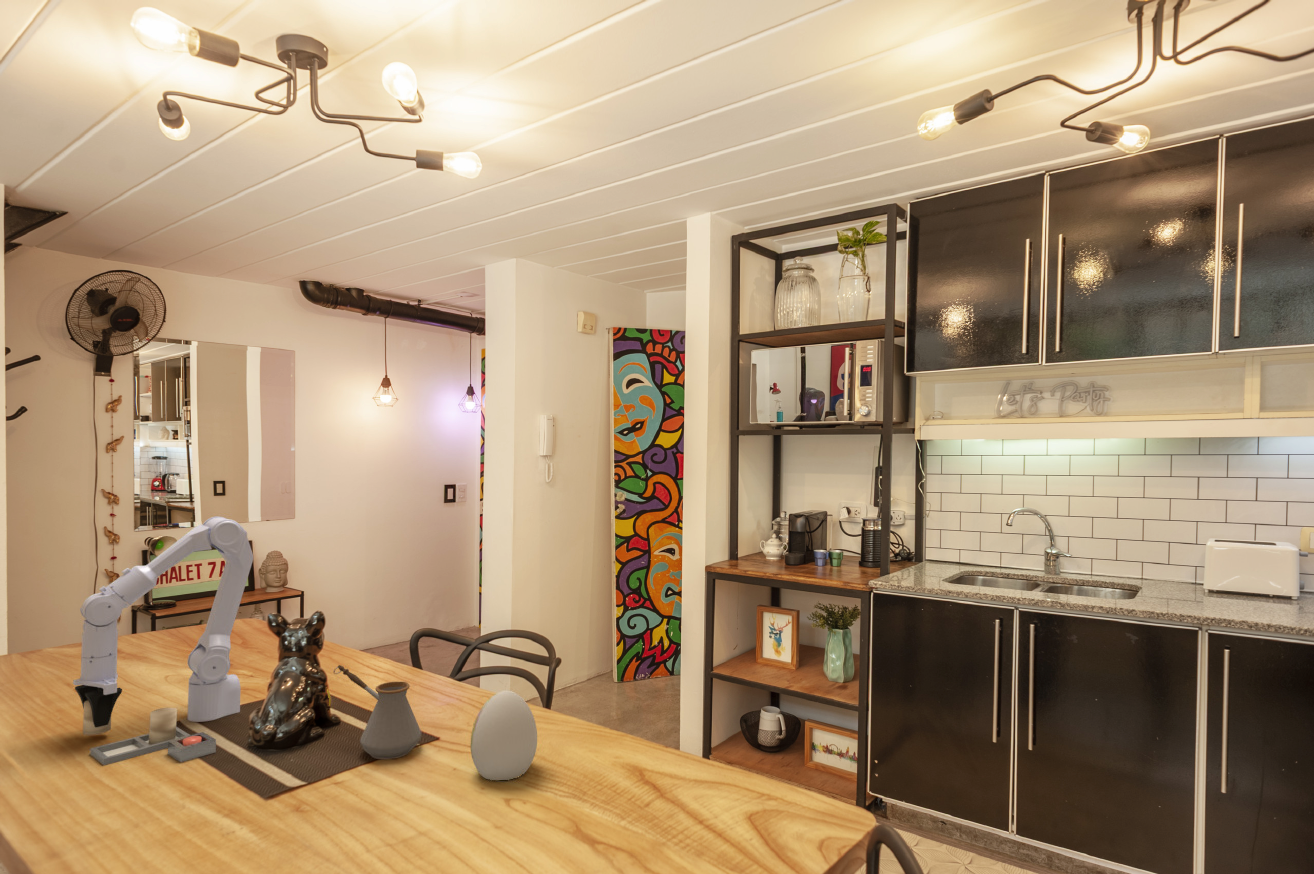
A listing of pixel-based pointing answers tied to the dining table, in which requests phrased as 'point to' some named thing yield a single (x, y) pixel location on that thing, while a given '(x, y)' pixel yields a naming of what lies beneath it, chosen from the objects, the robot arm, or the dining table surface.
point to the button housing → (191, 748)
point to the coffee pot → (388, 720)
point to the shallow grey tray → (129, 748)
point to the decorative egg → (504, 737)
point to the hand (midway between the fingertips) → (97, 722)
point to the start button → (191, 740)
